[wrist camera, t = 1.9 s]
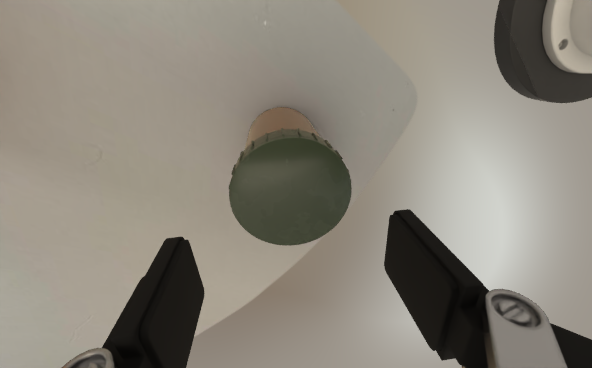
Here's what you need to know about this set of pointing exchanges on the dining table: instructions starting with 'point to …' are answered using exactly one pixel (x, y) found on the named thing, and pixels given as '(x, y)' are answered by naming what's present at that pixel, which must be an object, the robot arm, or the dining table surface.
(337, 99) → the dining table surface
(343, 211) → the lid
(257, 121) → the jar
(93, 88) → the dining table surface
